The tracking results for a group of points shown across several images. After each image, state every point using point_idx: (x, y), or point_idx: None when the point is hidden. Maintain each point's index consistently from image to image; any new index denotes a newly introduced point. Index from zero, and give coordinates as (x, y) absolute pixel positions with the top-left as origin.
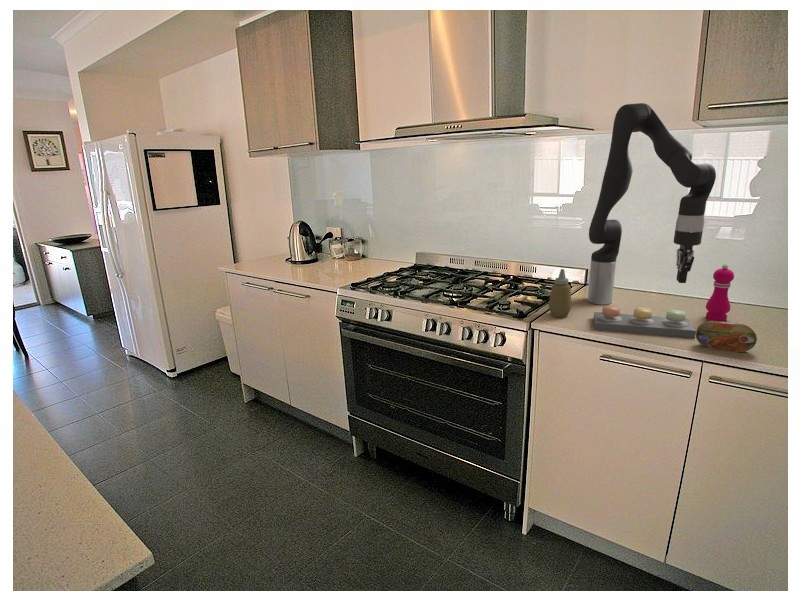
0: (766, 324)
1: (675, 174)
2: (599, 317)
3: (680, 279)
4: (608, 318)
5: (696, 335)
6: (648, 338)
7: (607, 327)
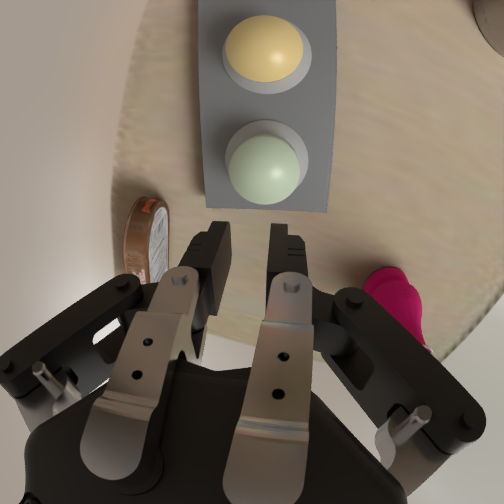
0: None
1: None
2: None
3: (196, 239)
4: None
5: (141, 198)
6: (166, 74)
7: None
